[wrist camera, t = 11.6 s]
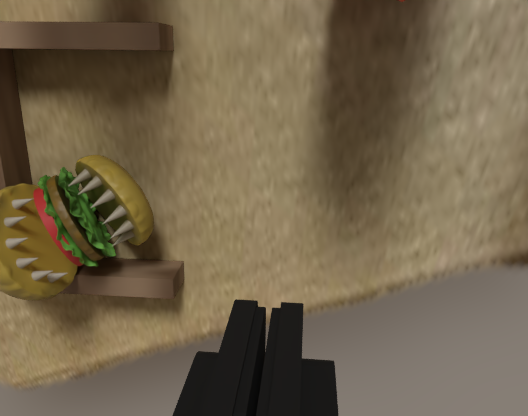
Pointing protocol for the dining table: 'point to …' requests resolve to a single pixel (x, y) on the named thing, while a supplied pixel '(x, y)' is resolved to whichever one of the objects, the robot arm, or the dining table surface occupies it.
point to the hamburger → (67, 225)
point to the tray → (15, 151)
